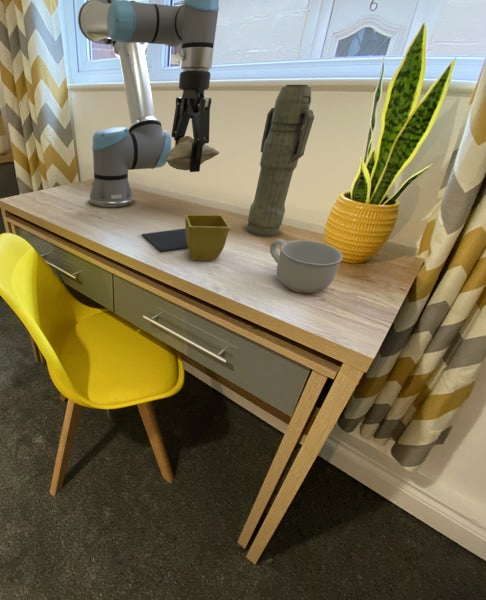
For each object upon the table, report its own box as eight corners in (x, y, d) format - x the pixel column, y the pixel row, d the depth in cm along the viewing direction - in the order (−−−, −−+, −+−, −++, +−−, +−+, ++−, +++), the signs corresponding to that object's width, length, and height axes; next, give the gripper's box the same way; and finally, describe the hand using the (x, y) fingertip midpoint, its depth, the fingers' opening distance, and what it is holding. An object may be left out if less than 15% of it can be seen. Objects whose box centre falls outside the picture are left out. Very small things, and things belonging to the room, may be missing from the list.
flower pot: (181, 249, 83) (185, 213, 78) (216, 249, 83) (222, 214, 78) (185, 264, 75) (189, 226, 71) (223, 265, 75) (230, 227, 70)
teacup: (341, 294, 65) (357, 257, 60) (298, 304, 61) (311, 265, 57) (290, 264, 76) (300, 231, 71) (250, 271, 73) (258, 237, 68)
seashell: (174, 152, 83) (180, 119, 85) (155, 169, 91) (161, 139, 94) (217, 176, 89) (222, 144, 91) (196, 190, 97) (201, 161, 99)
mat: (141, 235, 90) (141, 234, 90) (193, 228, 95) (193, 227, 95) (160, 252, 81) (160, 250, 81) (216, 244, 86) (216, 242, 85)
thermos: (272, 240, 88) (312, 84, 69) (235, 228, 96) (263, 84, 77) (290, 233, 92) (332, 85, 74) (254, 222, 100) (284, 85, 82)
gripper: (162, 72, 88) (157, 162, 100) (205, 67, 71) (193, 177, 83) (187, 73, 90) (179, 161, 102) (234, 68, 73) (219, 175, 85)
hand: (186, 168), depth 93 cm, fingers closed on seashell, 8 cm apart
